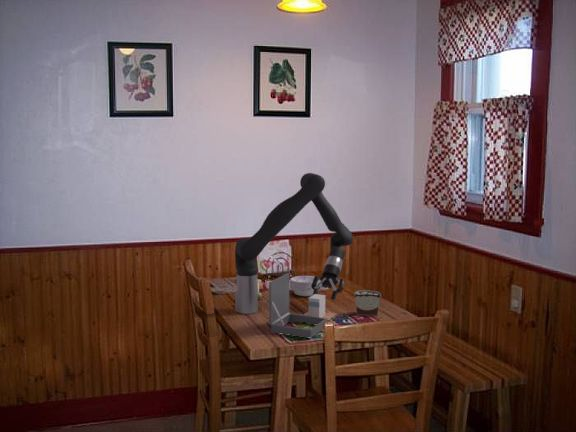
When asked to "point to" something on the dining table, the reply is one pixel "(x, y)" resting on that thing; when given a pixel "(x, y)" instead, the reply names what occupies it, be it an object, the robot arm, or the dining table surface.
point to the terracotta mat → (327, 315)
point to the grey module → (317, 305)
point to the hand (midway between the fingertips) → (323, 298)
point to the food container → (367, 302)
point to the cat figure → (260, 288)
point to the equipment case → (281, 311)
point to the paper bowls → (302, 285)
